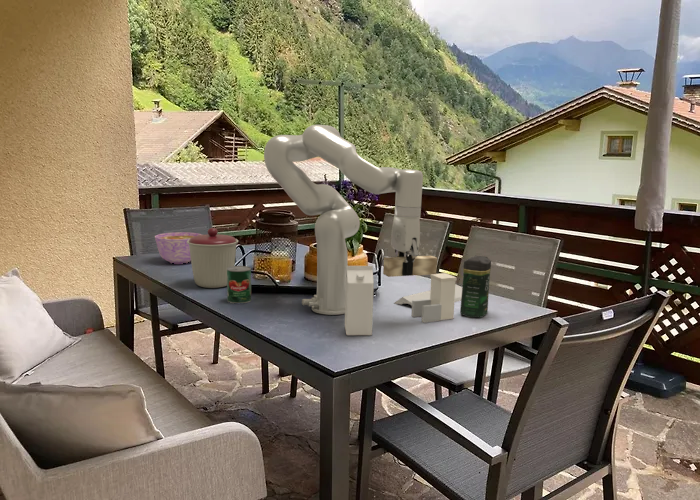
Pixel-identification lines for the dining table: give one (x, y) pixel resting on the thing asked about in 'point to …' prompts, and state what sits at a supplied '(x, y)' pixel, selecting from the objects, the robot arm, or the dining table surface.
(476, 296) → the coffee jar
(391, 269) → the birch rail
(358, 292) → the milk carton
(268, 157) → the robot arm
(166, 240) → the bowl of food
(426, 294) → the crown molding
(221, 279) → the canister
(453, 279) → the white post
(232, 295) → the canned tomato
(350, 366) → the dining table surface
